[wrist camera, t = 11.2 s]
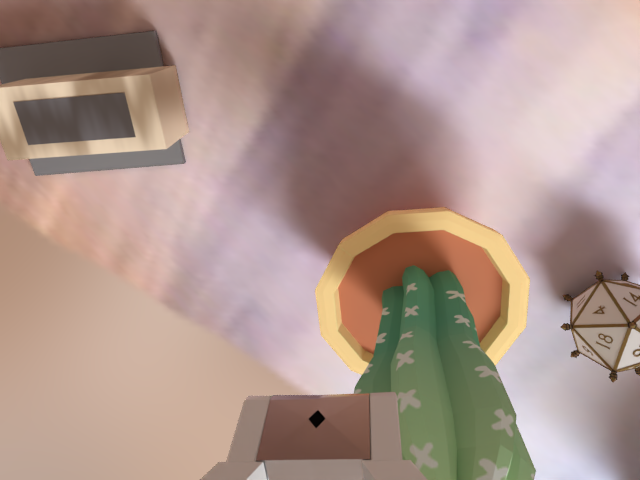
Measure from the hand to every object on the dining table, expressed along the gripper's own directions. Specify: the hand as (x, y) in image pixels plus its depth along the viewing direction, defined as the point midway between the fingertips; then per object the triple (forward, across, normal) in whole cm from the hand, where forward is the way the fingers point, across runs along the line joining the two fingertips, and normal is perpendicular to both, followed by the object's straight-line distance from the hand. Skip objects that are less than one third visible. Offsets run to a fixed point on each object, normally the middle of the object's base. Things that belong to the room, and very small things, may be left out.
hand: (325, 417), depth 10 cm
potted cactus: (+31, -4, +13) cm, 34 cm away
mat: (+31, +20, -2) cm, 37 cm away
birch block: (+28, +13, -2) cm, 31 cm away
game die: (+31, -20, +18) cm, 41 cm away
